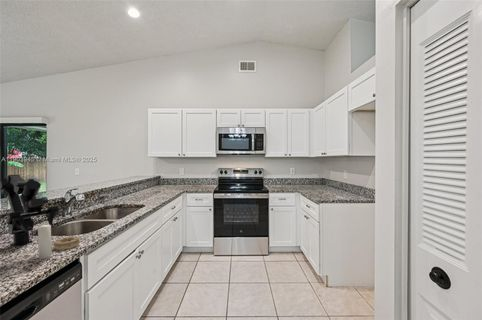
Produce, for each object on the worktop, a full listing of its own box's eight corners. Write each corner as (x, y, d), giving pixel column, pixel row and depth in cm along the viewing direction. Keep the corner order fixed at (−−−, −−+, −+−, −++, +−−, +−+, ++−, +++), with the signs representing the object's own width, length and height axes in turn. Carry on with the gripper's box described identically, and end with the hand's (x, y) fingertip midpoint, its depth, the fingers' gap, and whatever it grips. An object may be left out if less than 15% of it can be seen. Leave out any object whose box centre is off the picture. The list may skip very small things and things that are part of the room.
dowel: (36, 258, 109) (35, 227, 108) (46, 254, 113) (45, 224, 113) (43, 259, 108) (42, 228, 107) (54, 255, 112) (53, 225, 112)
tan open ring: (49, 248, 120) (49, 242, 120) (68, 241, 130) (68, 235, 130) (65, 250, 118) (65, 244, 117) (83, 243, 127) (83, 237, 127)
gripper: (7, 194, 108) (17, 223, 102) (57, 189, 123) (68, 214, 117) (2, 210, 112) (11, 238, 106) (51, 203, 128) (61, 227, 122)
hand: (39, 229), depth 113 cm, fingers open, 9 cm apart
